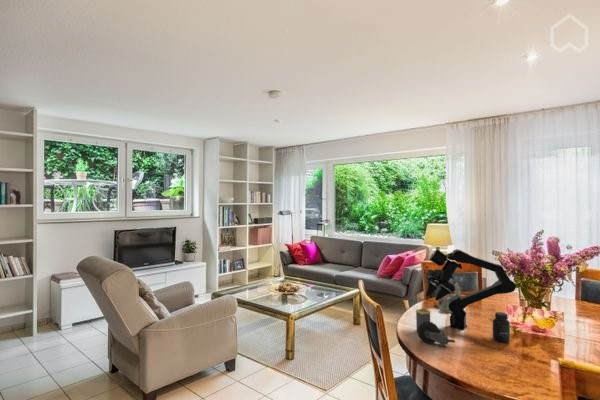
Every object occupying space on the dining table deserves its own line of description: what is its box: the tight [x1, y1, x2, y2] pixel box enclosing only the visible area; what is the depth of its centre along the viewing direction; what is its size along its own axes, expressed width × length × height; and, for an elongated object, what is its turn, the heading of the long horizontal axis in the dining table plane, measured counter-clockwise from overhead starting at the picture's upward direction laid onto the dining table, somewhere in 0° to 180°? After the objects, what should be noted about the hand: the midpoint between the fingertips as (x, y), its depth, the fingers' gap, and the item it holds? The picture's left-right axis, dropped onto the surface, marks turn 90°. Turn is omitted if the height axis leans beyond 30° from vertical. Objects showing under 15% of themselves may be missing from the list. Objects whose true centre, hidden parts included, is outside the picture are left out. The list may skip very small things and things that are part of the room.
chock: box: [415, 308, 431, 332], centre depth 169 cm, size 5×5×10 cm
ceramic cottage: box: [436, 282, 462, 313], centre depth 206 cm, size 16×16×15 cm
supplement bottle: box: [492, 311, 511, 344], centre depth 158 cm, size 7×7×12 cm
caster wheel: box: [417, 321, 456, 348], centre depth 155 cm, size 6×10×15 cm
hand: (431, 298), depth 174 cm, fingers open, 9 cm apart
